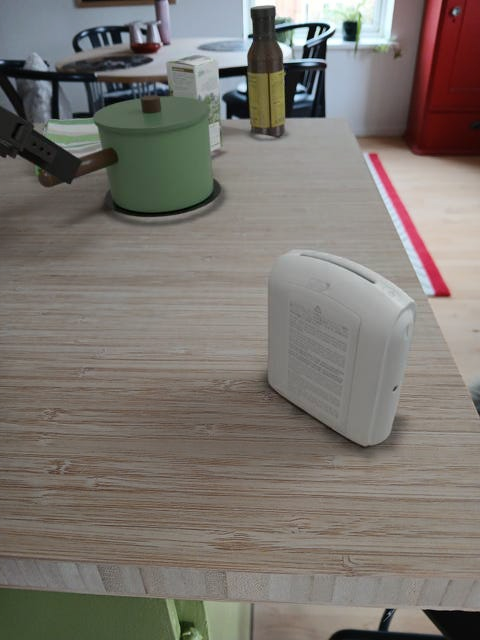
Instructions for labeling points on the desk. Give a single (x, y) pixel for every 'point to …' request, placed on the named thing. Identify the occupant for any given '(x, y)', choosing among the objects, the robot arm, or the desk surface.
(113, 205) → the trivet
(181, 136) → the pot
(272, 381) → the photo printer
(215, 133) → the syrup box
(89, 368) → the desk surface
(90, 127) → the dish towel
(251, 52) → the sauce bottle
